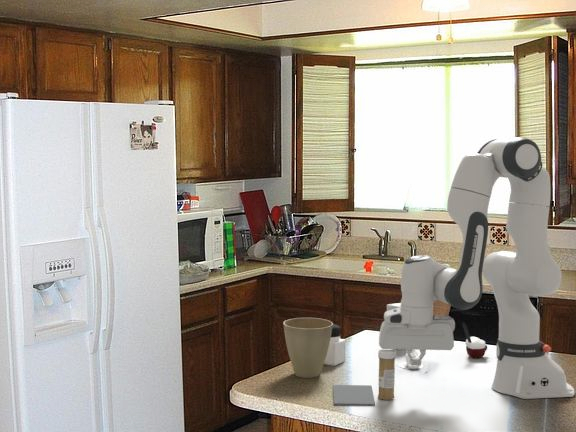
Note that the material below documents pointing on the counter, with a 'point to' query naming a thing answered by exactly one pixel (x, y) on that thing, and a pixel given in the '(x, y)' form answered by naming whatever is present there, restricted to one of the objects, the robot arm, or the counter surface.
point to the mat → (353, 395)
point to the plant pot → (307, 344)
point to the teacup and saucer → (409, 363)
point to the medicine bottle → (335, 348)
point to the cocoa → (474, 345)
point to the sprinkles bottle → (386, 374)
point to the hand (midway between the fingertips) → (415, 365)
